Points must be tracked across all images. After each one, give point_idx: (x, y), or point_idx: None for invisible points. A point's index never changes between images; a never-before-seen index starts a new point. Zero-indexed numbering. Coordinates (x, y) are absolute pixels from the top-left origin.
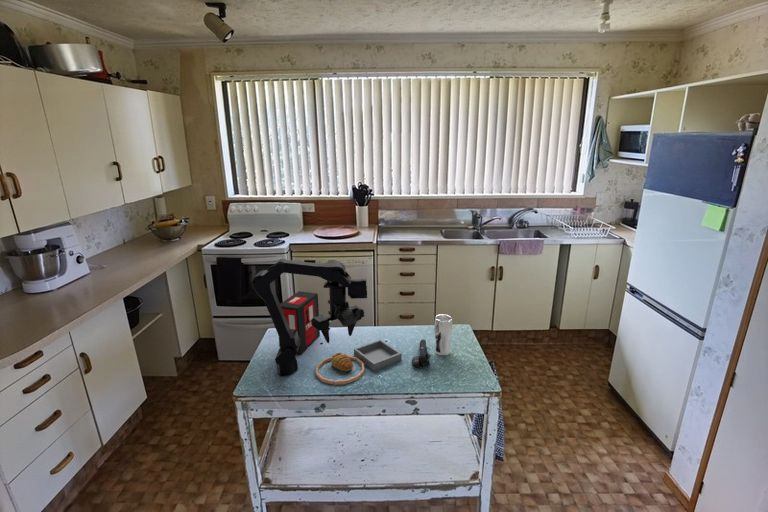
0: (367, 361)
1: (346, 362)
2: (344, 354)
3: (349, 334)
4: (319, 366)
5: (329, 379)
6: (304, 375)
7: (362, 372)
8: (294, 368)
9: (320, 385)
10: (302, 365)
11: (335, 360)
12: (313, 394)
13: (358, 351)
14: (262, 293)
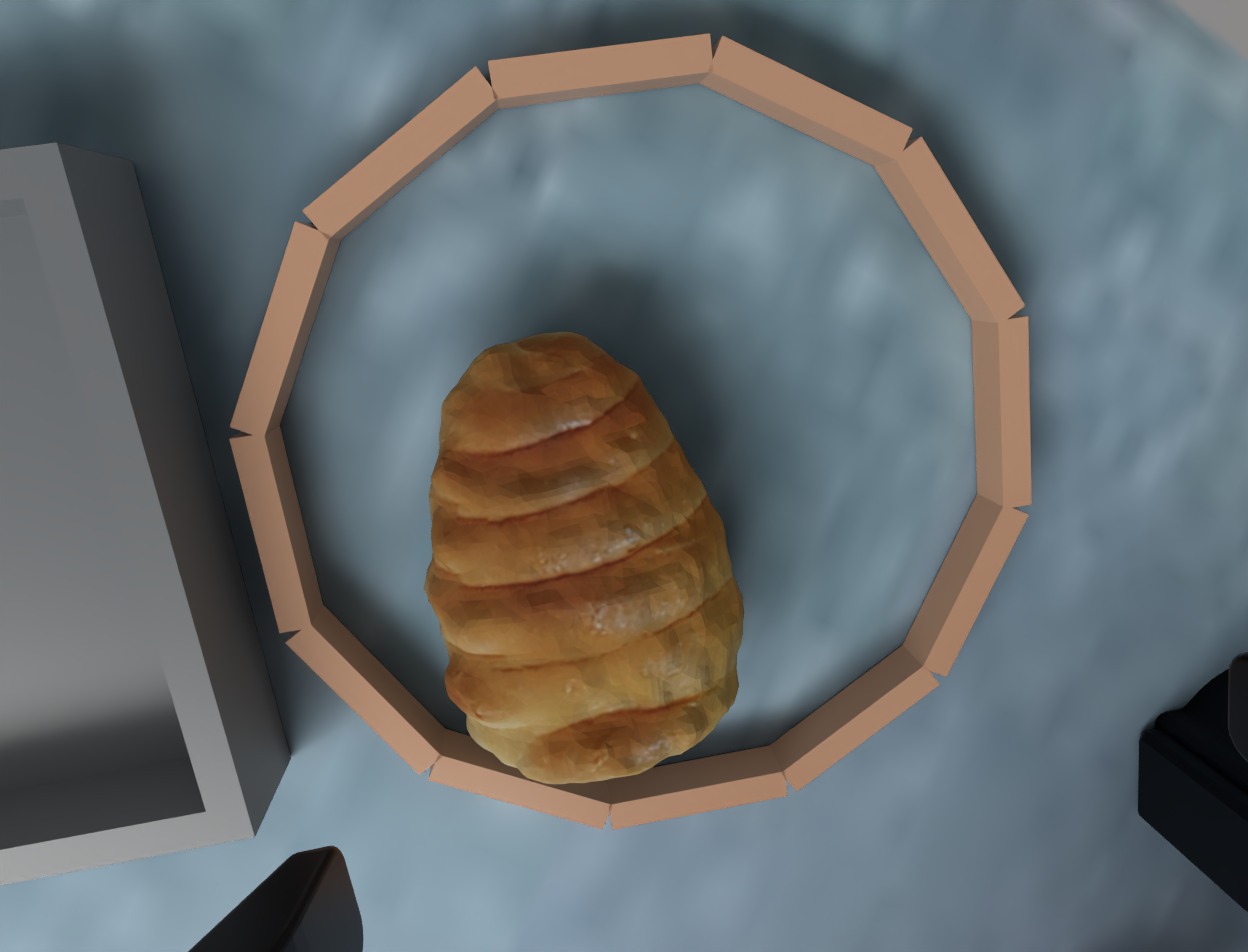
0: (149, 384)
1: (552, 470)
2: (502, 697)
3: (345, 921)
4: (888, 671)
5: (940, 226)
6: (1123, 570)
7: (358, 168)
8: (1223, 732)
9: (1055, 224)
10: (1043, 806)
11: (707, 606)
12: (1229, 54)
13: (202, 723)
14: None
